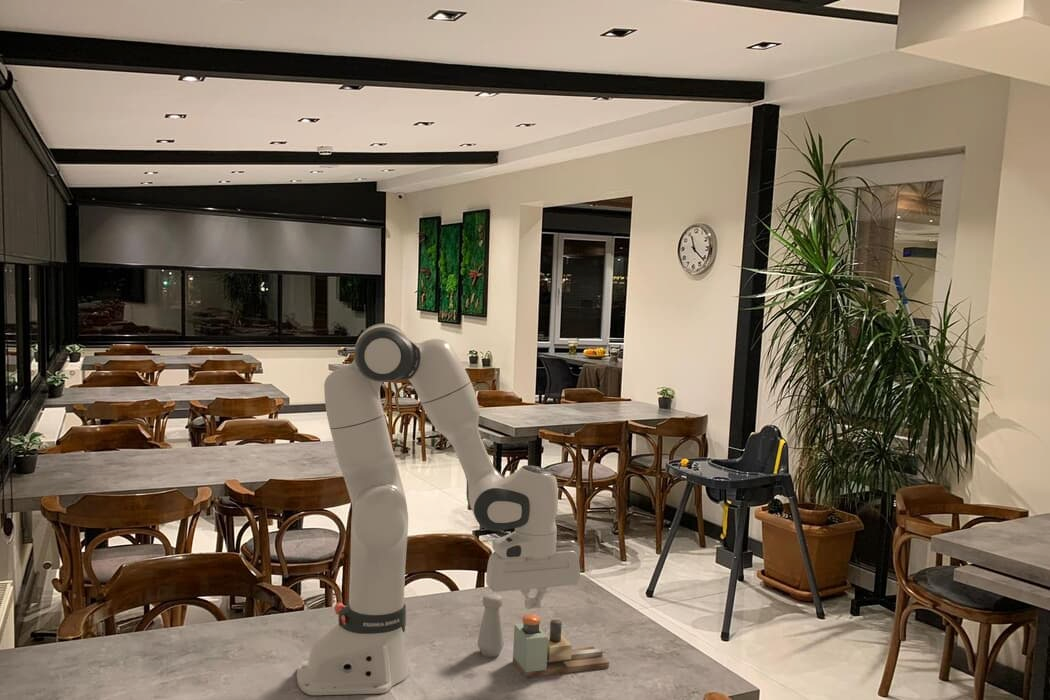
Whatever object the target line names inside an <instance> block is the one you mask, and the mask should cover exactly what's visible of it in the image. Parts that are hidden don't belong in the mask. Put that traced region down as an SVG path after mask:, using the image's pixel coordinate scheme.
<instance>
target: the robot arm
mask: <svg viewBox="0 0 1050 700" xmlns="http://www.w3.org/2000/svg"><path fill="white" fill-rule="evenodd" d="M405 380H406V381H407V380H408V381H409V382H410V384H411V385H412V387H413V388H414V390H415V392H416V395H417V396H418V399H419V402H420V405H421V406H422V408H423V410H424V412H425V414H426V416H427V418H428V420H429V421H430V422H431V424H432V426H433V427H434V429H435V430H436V432H438V433H439V434H441V435H443V437H444V438H445V439H447V441H448V442H449V443H450V445H451V446H452V448H453V450H454V452H455V454H456V457H457V459H458V461H459V463H460V465H461V468H462V471H463V473H464V475H465V479H466V494H465V495H466V501H467V504H468V506H469V508H470V509H471V511H472V513H473V516H474V517H475V520H476V521H477V523H478V524H479V525H480V527H482V528H484V529H485V530H488V531H492V532H499V531H500V532H501V531H506V530H507V531H508V530H513V529H514V531H512V532H511V533H508V534H506V535H504V536H500V537H499V538H496V539H494V540H492V543H491V548H492V549H493V551H494V552H492V553H491V554H490V556H489V558H488V562H487V566H486V568H487V569H486V574H485V579H486V580H485V582H486V583H485V584H486V585H487V587H488V588H489V589H490V590H491V592H494V593H495V592H496V593H497V592H507V591H520V592H521V595H522V596H523V599H524V607H525V608H526V610H529V609H540V608H541V604H542V603H541V602H542V600H543V598H544V596H545V594H546V593H547V588H553V587H564V586H575V585H577V584H578V583H579V582H580V580H581V567H580V566H581V565H580V557H581V546H580V545H579V543H577V542H575V540H567V541H563V540H561V541H558V540H557V535H558V534H557V531H558V529H557V528H558V527H557V523H556V517H557V513H558V510H559V507H558V506H559V488H558V481H557V478H556V475H555V474H554V473H553V472H552V471H551V470H549V469H547V468H545V467H543V466H542V467H541V466H538V465H537V466H536V465H531V464H529V465H522V466H521V467H520V468H519V469H518V470H516V471H515V472H512V473H511V474H509V475H508V476H504V475H503V474H502V473H501V472H500V471H499V470H497V468H495V466H494V464H493V462H492V461H491V459H490V456H489V454H488V452H487V449H486V446H485V445H484V442H483V440H482V437H481V434H480V430H479V420H480V413H481V412H480V406H479V401H478V398H477V394H476V391H475V388H474V386H473V384H472V381H471V379H470V377H469V375H468V372H467V370H466V368H465V366H464V365H463V363H462V361H461V359H460V358H459V356H458V354H457V353H456V351H455V350H454V349H453V347H452V346H451V344H450V343H449V342H447V341H446V340H443V339H440V338H439V339H438V338H433V339H428V340H425V341H422V342H413V341H412V340H411V339H409V338H408V337H407V335H406V334H405V333H404V332H403V331H402V329H400V328H399V327H397V326H395V325H393V324H390V323H384V322H383V323H378V324H377V323H376V324H374V325H373V324H372V325H371V326H369V327H367V328H366V329H365V330H364V331H362V332H361V334H360V336H359V337H358V338H357V340H356V343H355V349H354V355H353V358H352V361H351V363H350V364H348V365H346V366H342V367H339V368H337V369H335V370H334V371H331V373H329V375H327V377H326V379H325V381H324V384H323V385H324V386H323V388H324V390H323V391H324V403H325V411H326V417H327V421H328V426H329V430H330V434H331V438H332V442H333V446H334V449H335V450H334V451H335V454H336V458H337V462H338V466H339V469H340V470H341V473H342V476H343V480H344V482H345V485H346V488H347V492H348V495H349V498H350V499H349V500H350V502H351V518H350V519H351V520H350V563H349V564H350V565H349V566H350V569H349V575H350V576H349V595H348V596H349V602H348V604H346V605H345V604H343V603H342V602H337V603H335V605H334V607H333V609H334V612H335V614H336V615H337V616H338V623H337V624H335V625H334V626H333V627H332V628H330V629H329V630H328V631H326V632H325V633H324V634H322V635H321V636H320V637H318V638H317V639H315V641H314V643H313V644H312V646H311V649H310V651H309V652H310V653H309V655H308V660H304V661H302V662H300V664H299V666H298V667H297V671H296V682H297V686H298V688H299V689H300V690H301V692H303V693H305V694H306V695H309V696H334V695H335V696H337V695H369V694H370V695H371V694H384V693H387V692H388V691H390V690H391V688H392V687H394V686H395V685H397V684H399V683H401V682H402V681H404V680H405V679H406V678H407V677H408V676H409V675H410V674H409V673H410V667H409V662H408V660H407V659H408V658H407V655H406V653H407V651H406V646H405V645H406V644H405V632H406V625H407V606H406V604H405V582H406V581H405V580H406V579H405V578H406V564H407V563H406V562H407V561H406V560H407V551H408V550H407V548H408V547H407V546H408V534H409V533H408V531H409V530H408V529H409V514H408V513H409V512H408V506H407V505H408V504H407V498H406V493H405V490H404V486H403V483H402V479H401V475H400V471H399V467H398V464H397V460H396V456H395V451H394V449H393V445H392V444H393V443H392V440H391V435H390V431H389V428H388V424H387V419H386V416H385V412H384V407H383V403H382V401H381V386H382V384H383V383H389V382H397V381H405ZM531 589H537V590H538V591H537V593H536V595H535V596H534V597H529V595H528V594H531Z"/></svg>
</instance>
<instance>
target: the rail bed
mask: <svg viewBox="0 0 1050 700" xmlns="http://www.w3.org/2000/svg"><path fill="white" fill-rule="evenodd" d="M603 652H604V651H603V650H602V649H601V648H600V647H599V648H595V647H594V646H588V647H579V648H572V652H571V659H567V660H558V661H550V662H549V661H548V660H547V669H546V670H540V671H532V672H525V671H524V669H523V668H522V667H521V665H520V664H519V663H518V662H517V660H516V659H515V658H514V656H513V655H512V662H513V663H514V665H515V666H516V667H517V669H518V670H519V671H520V672H521V674H522V675H523V676H525V677H524V678H525V679H527V678H528V677H529V678H536V677H544V676H551V675H560V674H561V675H562V674H569V673H577V672H584V671H585V672H586V671H593V670H599V669H608V668H609V667H610V666H609V665H610V661H608V660H607V659H606V658H605V657H604V655H603V654H604V653H603ZM529 678H528V679H529Z"/></svg>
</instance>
